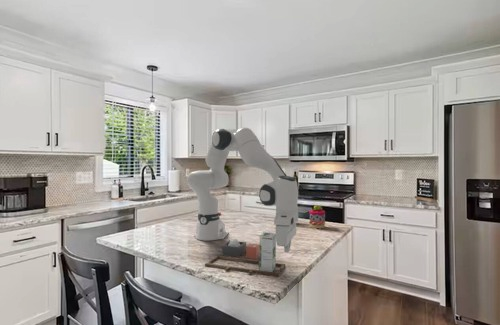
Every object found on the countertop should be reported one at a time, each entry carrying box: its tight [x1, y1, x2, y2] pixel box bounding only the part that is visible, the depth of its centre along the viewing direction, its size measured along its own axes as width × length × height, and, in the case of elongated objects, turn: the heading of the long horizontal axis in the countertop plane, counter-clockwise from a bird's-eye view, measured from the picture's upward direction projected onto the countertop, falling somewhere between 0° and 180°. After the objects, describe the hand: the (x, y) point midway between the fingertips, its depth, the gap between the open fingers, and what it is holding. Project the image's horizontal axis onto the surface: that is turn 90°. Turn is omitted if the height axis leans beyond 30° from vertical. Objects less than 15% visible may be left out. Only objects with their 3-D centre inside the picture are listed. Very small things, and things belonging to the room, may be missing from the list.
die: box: [245, 243, 259, 259], centre depth 132 cm, size 5×5×6 cm
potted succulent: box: [308, 205, 326, 229], centre depth 189 cm, size 10×11×15 cm
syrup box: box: [258, 232, 277, 272], centre depth 115 cm, size 6×6×14 cm
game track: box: [204, 255, 286, 278], centre depth 119 cm, size 15×32×1 cm, turn 70°
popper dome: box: [228, 238, 240, 247], centre depth 136 cm, size 6×6×5 cm
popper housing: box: [221, 240, 247, 258], centre depth 136 cm, size 9×9×4 cm
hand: (287, 251), depth 112 cm, fingers closed
